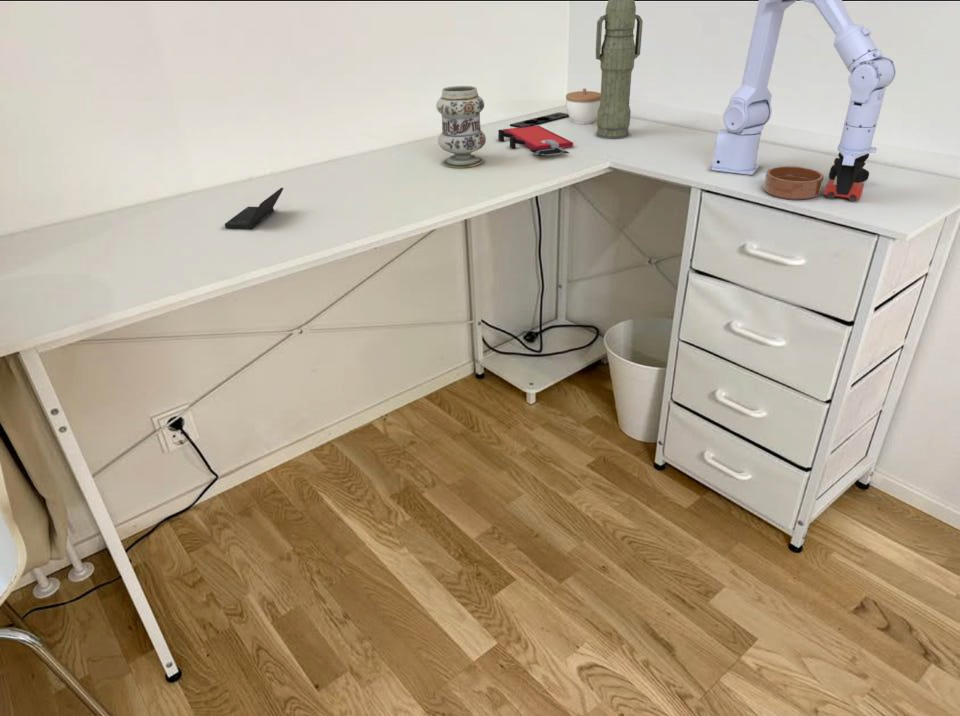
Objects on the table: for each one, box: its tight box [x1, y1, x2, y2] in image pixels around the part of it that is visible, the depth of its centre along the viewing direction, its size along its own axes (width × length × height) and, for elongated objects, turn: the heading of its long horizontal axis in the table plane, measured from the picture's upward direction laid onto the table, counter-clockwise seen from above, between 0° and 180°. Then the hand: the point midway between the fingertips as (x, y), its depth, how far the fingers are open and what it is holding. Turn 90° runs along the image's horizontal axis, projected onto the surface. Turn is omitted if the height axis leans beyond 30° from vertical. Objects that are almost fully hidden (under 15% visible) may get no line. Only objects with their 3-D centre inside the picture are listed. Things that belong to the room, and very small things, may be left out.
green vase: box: [595, 0, 644, 140], centre depth 187 cm, size 9×12×35 cm
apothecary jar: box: [435, 85, 487, 169], centre depth 173 cm, size 12×12×18 cm
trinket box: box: [565, 88, 601, 125], centre depth 208 cm, size 11×11×9 cm
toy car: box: [823, 176, 865, 203], centre depth 145 cm, size 7×4×4 cm, turn 59°
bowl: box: [763, 165, 824, 201], centre depth 149 cm, size 11×11×4 cm
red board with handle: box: [497, 125, 574, 157], centre depth 189 cm, size 30×3×15 cm
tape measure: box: [828, 164, 870, 183], centre depth 153 cm, size 7×7×4 cm
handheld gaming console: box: [224, 187, 284, 230], centre depth 145 cm, size 12×7×10 cm
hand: (843, 191), depth 146 cm, fingers closed on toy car, 4 cm apart
